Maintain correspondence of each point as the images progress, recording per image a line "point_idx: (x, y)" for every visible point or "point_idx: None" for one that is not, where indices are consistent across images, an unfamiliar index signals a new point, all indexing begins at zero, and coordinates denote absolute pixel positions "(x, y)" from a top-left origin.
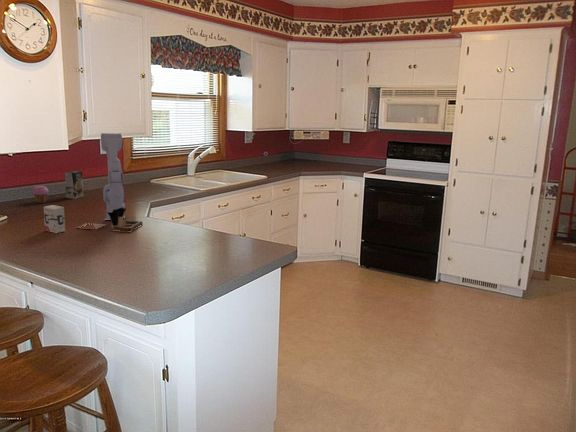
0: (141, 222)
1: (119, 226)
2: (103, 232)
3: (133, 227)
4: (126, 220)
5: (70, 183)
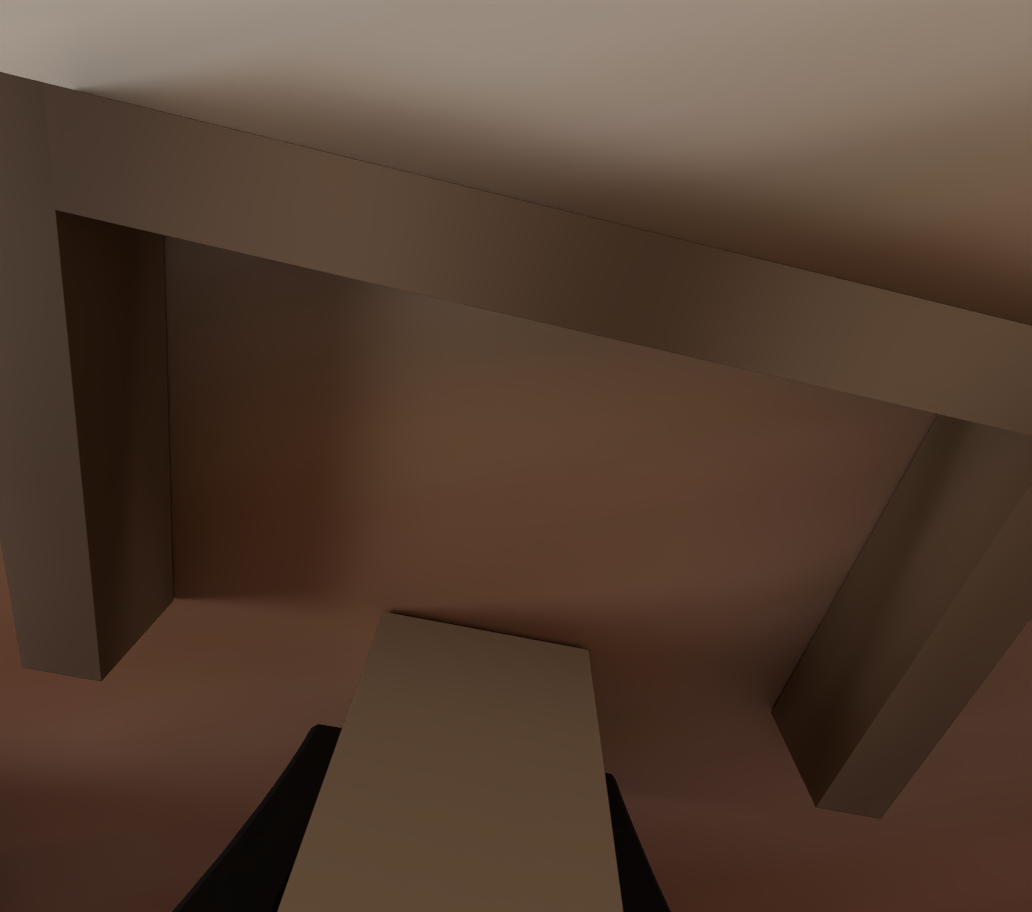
0: (36, 82)
1: (590, 696)
2: (890, 841)
3: (864, 285)
4: (28, 664)
5: None
